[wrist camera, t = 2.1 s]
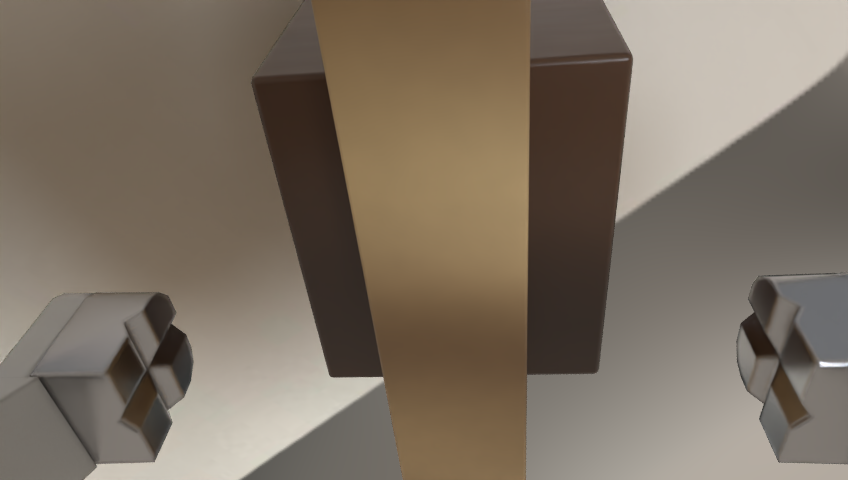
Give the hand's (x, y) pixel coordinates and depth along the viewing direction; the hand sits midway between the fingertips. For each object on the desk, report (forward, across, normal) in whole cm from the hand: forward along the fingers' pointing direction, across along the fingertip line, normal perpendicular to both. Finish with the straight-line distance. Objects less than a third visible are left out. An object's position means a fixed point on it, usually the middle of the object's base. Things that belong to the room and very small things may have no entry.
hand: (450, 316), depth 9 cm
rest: (+13, 0, 0) cm, 13 cm away
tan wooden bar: (+1, 0, 0) cm, 1 cm away
